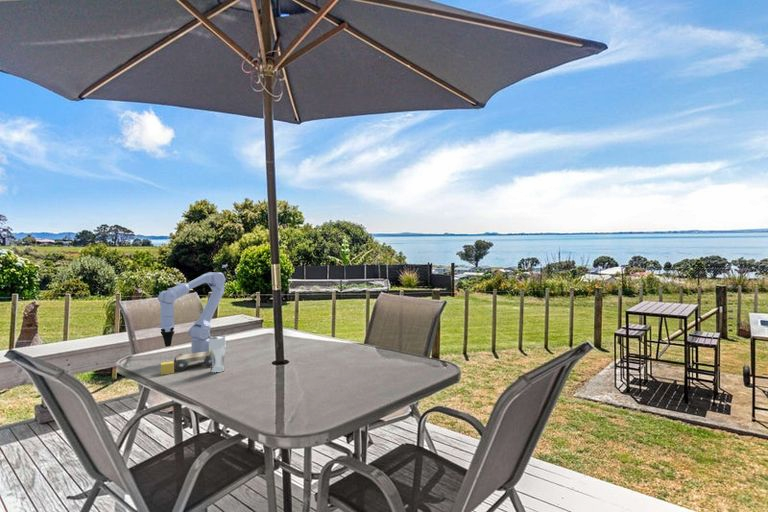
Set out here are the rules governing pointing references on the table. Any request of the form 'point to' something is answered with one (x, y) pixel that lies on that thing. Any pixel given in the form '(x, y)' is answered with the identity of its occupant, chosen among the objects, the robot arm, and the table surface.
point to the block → (167, 367)
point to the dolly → (191, 359)
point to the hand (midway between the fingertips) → (167, 344)
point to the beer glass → (217, 353)
